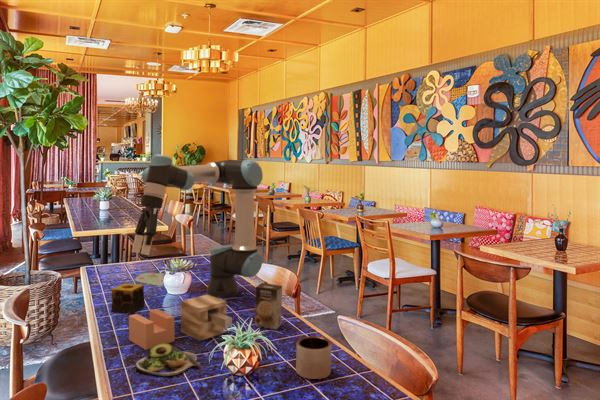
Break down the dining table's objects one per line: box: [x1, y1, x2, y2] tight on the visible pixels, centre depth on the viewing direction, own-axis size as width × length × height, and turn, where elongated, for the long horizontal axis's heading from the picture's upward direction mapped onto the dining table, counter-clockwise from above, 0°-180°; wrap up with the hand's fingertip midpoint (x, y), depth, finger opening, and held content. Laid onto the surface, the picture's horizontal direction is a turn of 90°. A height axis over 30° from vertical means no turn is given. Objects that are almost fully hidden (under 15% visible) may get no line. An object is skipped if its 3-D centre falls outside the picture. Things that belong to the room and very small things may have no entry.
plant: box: [134, 262, 165, 287], centre depth 247 cm, size 25×21×9 cm
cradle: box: [128, 308, 176, 351], centre depth 165 cm, size 11×12×9 cm
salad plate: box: [135, 343, 201, 377], centre depth 147 cm, size 19×18×5 cm
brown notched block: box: [180, 293, 227, 342], centre depth 174 cm, size 12×12×12 cm
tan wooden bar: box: [208, 309, 233, 329], centre depth 171 cm, size 3×22×3 cm, turn 47°
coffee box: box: [254, 282, 283, 330], centre depth 181 cm, size 9×6×16 cm
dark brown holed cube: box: [111, 283, 146, 315], centre depth 198 cm, size 10×10×10 cm
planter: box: [295, 335, 332, 380], centre depth 143 cm, size 11×11×10 cm
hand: (140, 253), depth 166 cm, fingers open, 13 cm apart
